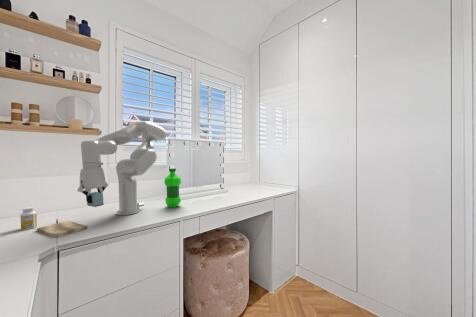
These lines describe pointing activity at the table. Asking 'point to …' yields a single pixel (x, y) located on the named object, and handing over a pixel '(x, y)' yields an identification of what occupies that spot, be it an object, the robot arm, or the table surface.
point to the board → (61, 228)
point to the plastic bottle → (172, 188)
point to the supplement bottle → (28, 218)
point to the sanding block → (96, 199)
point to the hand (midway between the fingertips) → (94, 201)
